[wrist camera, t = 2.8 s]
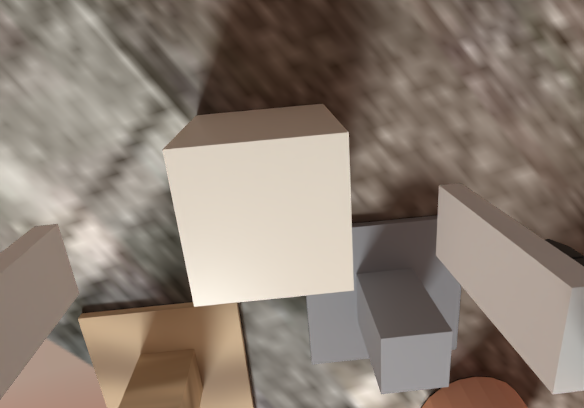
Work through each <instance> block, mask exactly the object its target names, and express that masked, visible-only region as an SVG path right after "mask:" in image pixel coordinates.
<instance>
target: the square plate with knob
mask: <svg viewBox="0 0 584 408" xmlns="http://www.w3.org/2000/svg"><path fill="white" fill-rule="evenodd" d="M437 218H438V215H435V216H425V217H415V218H405V219H394V220H384V221H374V222H364V223H353V224H352V247H353V278H354V291H345V292H335V293H325V294H315V295H306V301H307V313H308V325H309V337H310V349H311V360H312V364H320V363H330V362H339V361H349V360H359V359H368V358H370V361H371V364H372V367H373V370H374V373H375V376H376V379H377V383H378V386H379V389H380V392H381V394H387V393H396V392H405V391H415V390H424V389H434V388H443V387H449V376H450V362H451V350H454V349H456V347H457V334H458V321H459V308H460V295H461V285H460V283H459V282H458V281H457V280H456V279H455V278H454V276H453V275H452V274H451V273H450V272H449V270H448V269H447V268H446V267H445V266H444V264H443V263H442V262H441V261H440V260H439V258H438V257H437V256H436V240H437Z"/></svg>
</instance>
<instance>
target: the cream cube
mask: <svg viewBox="0 0 584 408" xmlns="http://www.w3.org/2000/svg"><path fill="white" fill-rule="evenodd" d="M163 155H164V160H165V165H166V170H167V175H168V180H169V185H170V190H171V195H172V200H173V205H174V210H175V214H176V219H177V224H178V229H179V234H180V239H181V244H182V249H183V254H184V259H185V264H186V269H187V274H188V279H189V284H190V289H191V294H192V299H193V304H194V307H197V306H207V305H216V304H226V303H236V302H246V301H256V300H266V299H276V298H286V297H295V296H305V295H315V294H325V293H335V292H345V291H354V278H353V247H352V217H351V186H350V156H349V132H348V131H347V130H346V129H345V128H344V126H343V125H342V124H341V123H340V122H339V121H338V120H337V119H336V118H335V117H334V115H333V114H332V113H331V112H330V111H329V110H328V109H327V108H326V107H325V105H324V104H314V105H303V106H292V107H281V108H270V109H259V110H248V111H238V112H227V113H216V114H205V115H196V116H195V117H194V118H193V119H192V120H191V121H190V122H189V123H188V124H187V125H186V126H185V127H184V128H183V129H182V130H181V131H180V132H179V133H178V134H177V136H176V137H175V138H174V139H173V140H172V141H171V142H170V143H169V144H168V145H167V146H166V147H165V148H164V149H163Z"/></svg>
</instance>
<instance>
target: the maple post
mask: <svg viewBox="0 0 584 408" xmlns="http://www.w3.org/2000/svg"><path fill="white" fill-rule="evenodd" d="M78 321H79V324H80V327H81V330H82V333H83V336H84V339H85V342H86V345H87V348H88V351H89V354H90V357H91V360H92V363H93V366H94V369H95V372H96V376H97V379H98V382H99V385H100V388H101V391H102V394H103V397H104V400H105V403H106V406H107V408H254V403H253V396H252V390H251V383H250V377H249V371H248V364H247V358H246V351H245V345H244V338H243V332H242V325H241V319H240V312H239V306H238V302H236V303H226V304H216V305H207V306H197V307H194V304H193V302H190V303H180V304H170V305H160V306H150V307H140V308H130V309H121V310H111V311H101V312H91V313H82V314H81V315H80V316H79V318H78Z"/></svg>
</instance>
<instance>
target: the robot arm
mask: <svg viewBox="0 0 584 408" xmlns="http://www.w3.org/2000/svg"><path fill="white" fill-rule="evenodd" d="M436 256H437V257H438V258H439V260H440V261H441V262H442V263H443V264H444V266H445V267H446V268H447V269H448V270H449V272H450V273H451V274H452V275H453V276H454V278H455V279H456V280H457V281H458V282H459V283H460V285H461V286H462V287H463V288H464V289H465V291H466V292H467V293H468V294H469V295H470V297H471V298H472V299H473V300H474V301H475V303H476V304H477V305H478V306H479V307H480V308H481V310H482V311H483V312H484V313H485V314H486V316H487V317H488V318H489V319H490V320H491V322H492V323H493V324H494V325H495V326H496V328H497V329H498V330H499V331H500V332H501V333H502V335H503V336H504V337H505V338H506V339H507V341H508V342H509V343H510V344H511V345H512V347H513V348H514V349H515V350H516V351H517V352H518V354H519V355H520V356H521V357H522V358H523V360H524V361H525V362H526V363H527V364H528V366H529V367H530V368H531V369H532V370H533V372H534V373H535V374H536V375H537V376H538V377H539V379H540V380H541V381H542V382H543V383H544V385H545V386H546V387H547V388H548V389H549V391H550V392H551V393H552V394H559V393H567V392H576V391H584V256H583V255H581V254H580V253H578V252H577V251H575V250H574V249H572V248H571V247H569V246H566V245H564V244H561V243H558V242H556V241H553V240H550V239H545V240H544V239H542V238H541V237H540V236H538V235H537V234H535V233H534V232H532V231H531V230H529V229H528V228H526V227H525V226H523V225H522V224H520V223H519V222H517V221H516V220H514V219H513V218H511V217H510V216H509V215H507V214H506V213H504V212H503V211H501V210H500V209H498V208H497V207H495V206H494V205H492V204H491V203H489V202H488V201H486V200H485V199H483V198H482V197H480V196H479V195H478V194H476V193H475V192H473V191H472V190H470V189H469V188H467V187H466V186H464V185H463V184H461V183H456V184H446V185H439V196H438V218H437V240H436ZM78 295H79V291H78V288H77V285H76V281H75V278H74V275H73V272H72V268H71V265H70V262H69V259H68V256H67V252H66V249H65V246H64V243H63V240H62V236H61V233H60V230H59V227H58V224H53V225H44V226H35V227H33V228H32V229H31V230H29V231H28V232H27V233H26V234H24V235H23V236H22V237H20V238H19V239H18V240H17V241H15V242H14V243H13V244H12V245H10V246H9V247H8V248H6V249H5V250H4V251H3V252H1V253H0V400H1V398H2V397H3V395H4V394H5V393H6V391H7V390H8V389H9V387H10V386H11V385H12V383H13V382H14V381H15V379H16V378H17V377H18V375H19V374H20V373H21V371H22V370H23V369H24V367H25V366H26V365H27V363H28V362H29V360H30V359H31V358H32V356H33V355H34V354H35V353H36V351H37V350H38V349H39V347H40V346H41V344H42V343H43V342H44V340H45V339H46V338H47V336H48V335H49V334H50V332H51V331H52V330H53V328H54V327H55V326H56V324H57V323H58V322H59V320H60V319H61V318H62V316H63V315H64V314H65V312H66V311H67V310H68V308H69V307H70V306H71V304H72V303H73V302H74V300H75V299H76V298H77V296H78Z"/></svg>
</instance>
